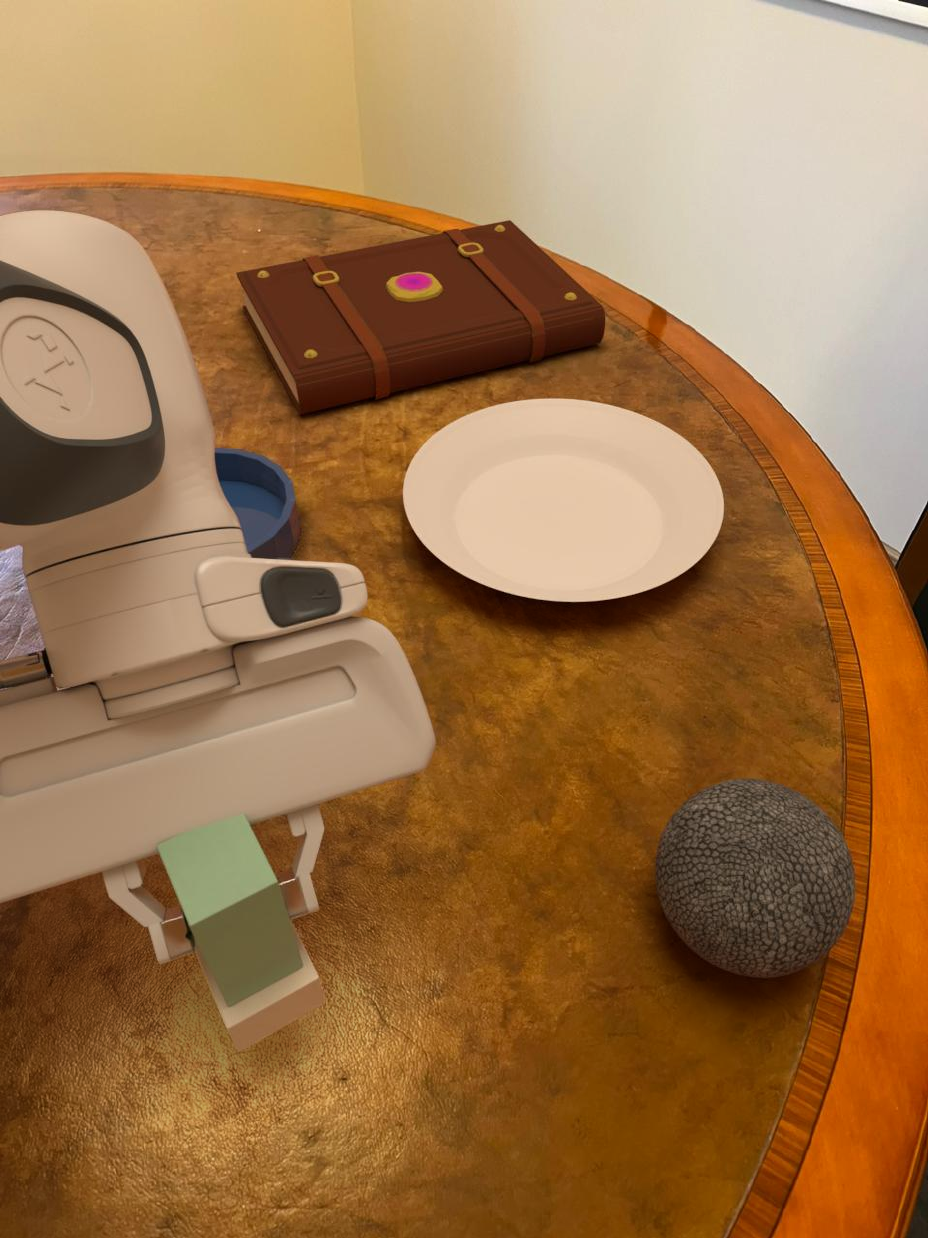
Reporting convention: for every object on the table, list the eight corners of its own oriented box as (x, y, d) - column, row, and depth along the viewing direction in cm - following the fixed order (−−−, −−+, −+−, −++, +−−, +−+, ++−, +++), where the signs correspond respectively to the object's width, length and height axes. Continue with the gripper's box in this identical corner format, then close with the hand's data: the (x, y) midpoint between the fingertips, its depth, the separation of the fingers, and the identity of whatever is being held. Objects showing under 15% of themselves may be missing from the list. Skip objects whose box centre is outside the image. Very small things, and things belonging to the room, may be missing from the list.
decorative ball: (700, 809, 57) (733, 710, 50) (854, 908, 53) (916, 814, 45) (608, 928, 52) (631, 836, 45) (771, 1049, 47) (826, 968, 40)
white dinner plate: (524, 688, 64) (527, 654, 61) (350, 495, 78) (345, 461, 76) (781, 551, 73) (793, 516, 71) (583, 402, 88) (587, 368, 85)
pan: (150, 627, 68) (138, 593, 65) (96, 517, 76) (83, 483, 74) (329, 558, 73) (324, 524, 70) (260, 462, 81) (253, 428, 79)
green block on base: (238, 1053, 42) (186, 949, 34) (196, 951, 46) (139, 834, 38) (326, 1003, 44) (296, 892, 36) (279, 907, 47) (241, 786, 39)
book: (242, 309, 100) (234, 264, 96) (508, 255, 108) (509, 212, 105) (303, 422, 86) (295, 374, 82) (603, 349, 94) (609, 303, 90)
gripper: (-143, 694, 33) (-36, 1055, 34) (397, 559, 39) (479, 876, 39) (-87, 684, 40) (3, 991, 40) (373, 568, 45) (445, 842, 45)
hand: (242, 933), depth 40 cm, fingers closed on green block on base, 4 cm apart
